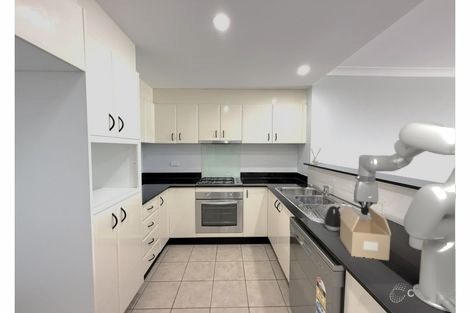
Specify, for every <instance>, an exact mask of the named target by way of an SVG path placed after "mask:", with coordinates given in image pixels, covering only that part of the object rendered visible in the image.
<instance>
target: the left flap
mask: <svg viewBox="0 0 470 313" xmlns="http://www.w3.org/2000/svg"><path fill="white" fill-rule="evenodd" d="M340 214H341V216H340V218H341V219H342V221H343V222H344V223H345V224H346V225H347V227H348V228H349V229H350V230H351V231H352V232H353V230H354V228H355V226H356V224H357V222H358V220H360V215H359V214H358V213H356V212H355V211H354V210H352V209H351V208H350V207H349V206H348V205H347V204H345V206H344V208H343V210H342V211H341V213H340Z"/></svg>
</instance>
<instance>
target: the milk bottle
mask: <svg viewBox="0 0 470 313" xmlns="http://www.w3.org/2000/svg"><path fill="white" fill-rule="evenodd" d="M423 241H424V240H419V239H416V238H414V237H412V236H410V235H409V239H408V244H409V246H410V247H411V248H412V249H416V250H419V251H422V244H423Z"/></svg>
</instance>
